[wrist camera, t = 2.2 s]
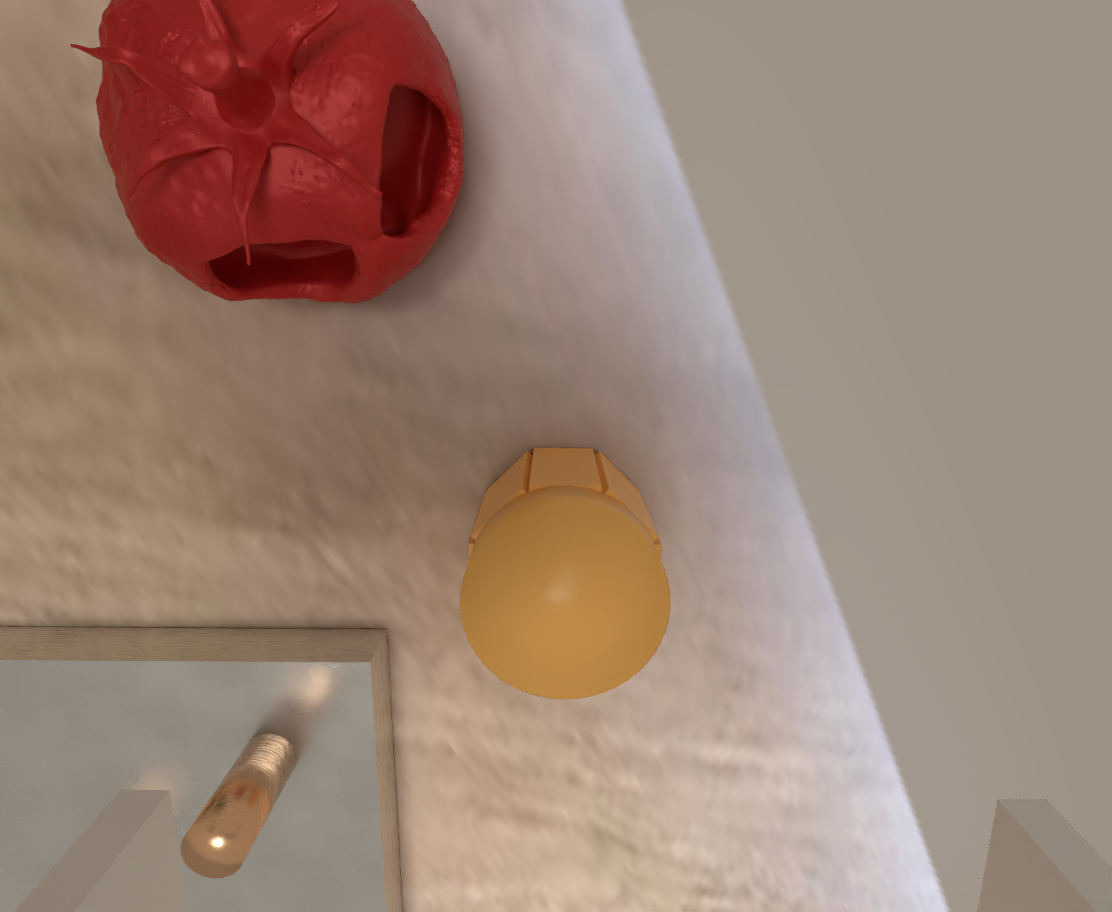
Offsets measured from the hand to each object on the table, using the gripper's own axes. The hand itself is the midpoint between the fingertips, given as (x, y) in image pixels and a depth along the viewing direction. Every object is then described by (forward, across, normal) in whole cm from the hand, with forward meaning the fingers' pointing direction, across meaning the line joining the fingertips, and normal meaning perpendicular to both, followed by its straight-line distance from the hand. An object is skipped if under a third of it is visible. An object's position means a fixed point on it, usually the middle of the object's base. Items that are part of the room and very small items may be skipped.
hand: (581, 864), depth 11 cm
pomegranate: (+16, -8, +13) cm, 22 cm away
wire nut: (+16, 0, 0) cm, 16 cm away
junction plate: (+16, -16, -12) cm, 25 cm away
